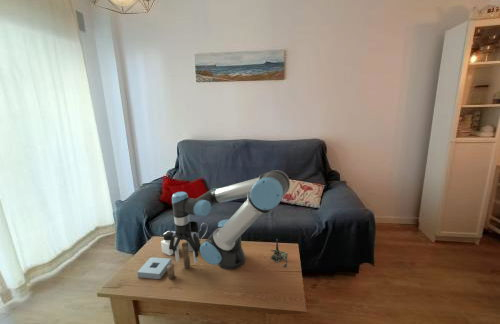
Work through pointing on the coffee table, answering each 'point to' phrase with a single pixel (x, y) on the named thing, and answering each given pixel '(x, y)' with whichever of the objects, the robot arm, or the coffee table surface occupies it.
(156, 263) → the collar plate
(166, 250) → the medicine bottle
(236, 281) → the coffee table surface
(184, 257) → the long pin
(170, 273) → the short pin
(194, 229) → the grey black mug
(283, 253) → the grey-green irregular piece
